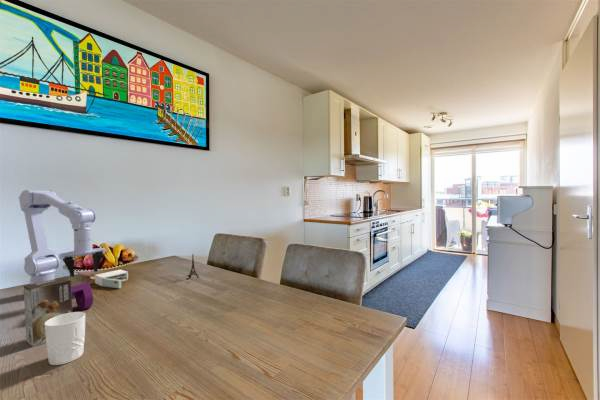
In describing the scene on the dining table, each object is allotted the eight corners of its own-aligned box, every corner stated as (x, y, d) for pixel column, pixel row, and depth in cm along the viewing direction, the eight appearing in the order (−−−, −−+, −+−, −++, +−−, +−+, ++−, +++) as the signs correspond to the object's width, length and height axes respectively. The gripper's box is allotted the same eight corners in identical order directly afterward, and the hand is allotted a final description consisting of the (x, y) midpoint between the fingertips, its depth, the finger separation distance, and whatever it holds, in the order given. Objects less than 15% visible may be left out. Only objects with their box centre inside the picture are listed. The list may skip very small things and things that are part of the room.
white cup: (62, 349, 72) (61, 312, 72) (93, 347, 73) (92, 311, 73) (36, 368, 65) (35, 326, 64) (71, 366, 65) (70, 325, 65)
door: (103, 285, 124) (103, 277, 124) (121, 288, 121) (121, 279, 121) (101, 286, 123) (101, 278, 123) (118, 288, 120) (118, 280, 120)
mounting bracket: (44, 326, 98) (62, 314, 90) (39, 303, 100) (56, 290, 92) (76, 316, 107) (94, 304, 98) (71, 295, 108) (89, 282, 100)
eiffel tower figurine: (194, 273, 144) (194, 248, 144) (210, 275, 141) (210, 249, 141) (173, 282, 130) (172, 254, 130) (190, 284, 127) (189, 255, 127)
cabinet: (94, 283, 128) (94, 274, 128) (120, 277, 137) (120, 269, 137) (102, 286, 124) (102, 277, 124) (128, 279, 133) (128, 271, 133)
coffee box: (65, 327, 85) (64, 276, 84) (74, 333, 81) (72, 279, 81) (24, 341, 77) (23, 285, 77) (32, 347, 73) (30, 289, 73)
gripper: (63, 243, 100) (64, 280, 100) (108, 238, 112) (109, 270, 112) (57, 241, 104) (58, 276, 104) (101, 236, 116) (101, 268, 116)
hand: (84, 273), depth 109 cm, fingers open, 7 cm apart
